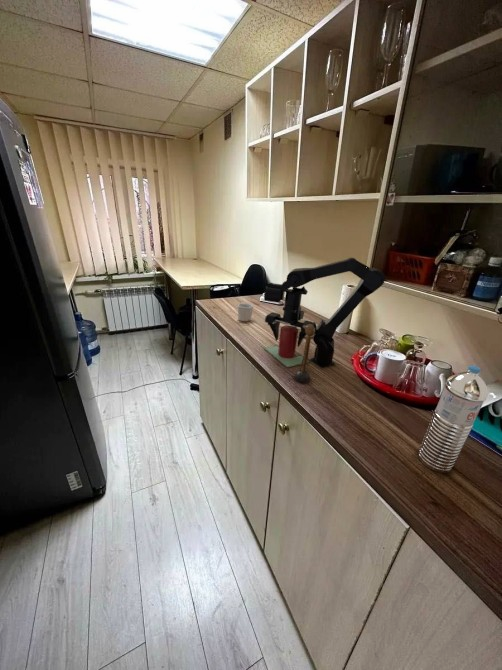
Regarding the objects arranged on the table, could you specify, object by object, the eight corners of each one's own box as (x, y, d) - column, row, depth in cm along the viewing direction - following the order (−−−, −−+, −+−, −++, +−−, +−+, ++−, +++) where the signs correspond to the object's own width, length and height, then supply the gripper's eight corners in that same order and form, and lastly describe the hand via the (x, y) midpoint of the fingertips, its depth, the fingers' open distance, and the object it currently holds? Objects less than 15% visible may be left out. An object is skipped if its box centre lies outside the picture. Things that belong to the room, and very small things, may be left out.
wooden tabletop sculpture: (291, 374, 94) (298, 320, 86) (303, 373, 96) (311, 319, 88) (299, 384, 89) (308, 327, 81) (311, 382, 91) (321, 326, 83)
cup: (232, 316, 145) (233, 301, 142) (246, 315, 149) (247, 300, 145) (240, 323, 136) (241, 308, 133) (254, 321, 140) (255, 306, 137)
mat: (309, 362, 103) (309, 361, 103) (287, 367, 99) (287, 366, 99) (284, 345, 116) (284, 344, 116) (264, 349, 112) (264, 348, 111)
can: (298, 356, 106) (301, 330, 102) (284, 359, 103) (287, 333, 99) (288, 349, 111) (291, 324, 107) (274, 352, 108) (277, 326, 104)
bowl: (322, 335, 128) (323, 327, 127) (298, 340, 122) (299, 331, 120) (303, 325, 140) (304, 317, 138) (280, 329, 133) (281, 320, 131)
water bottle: (438, 450, 66) (477, 359, 56) (458, 474, 60) (507, 377, 50) (410, 449, 66) (446, 358, 56) (428, 474, 59) (472, 376, 50)
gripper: (324, 304, 101) (317, 342, 108) (278, 295, 110) (275, 330, 116) (314, 311, 92) (307, 352, 99) (265, 301, 101) (262, 339, 107)
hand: (287, 343), depth 105 cm, fingers open, 9 cm apart
